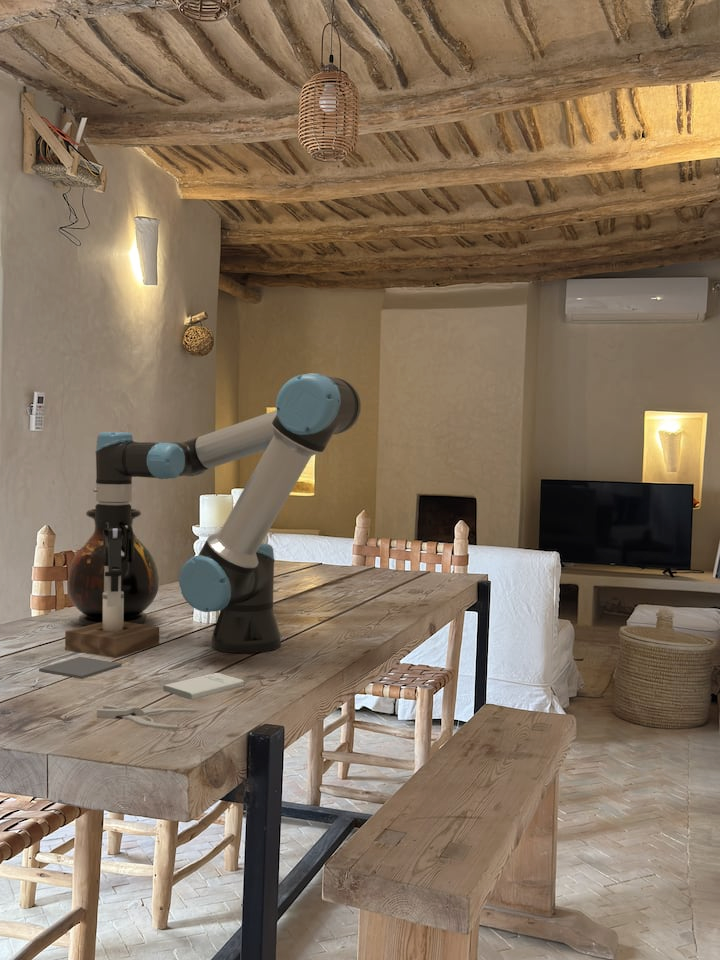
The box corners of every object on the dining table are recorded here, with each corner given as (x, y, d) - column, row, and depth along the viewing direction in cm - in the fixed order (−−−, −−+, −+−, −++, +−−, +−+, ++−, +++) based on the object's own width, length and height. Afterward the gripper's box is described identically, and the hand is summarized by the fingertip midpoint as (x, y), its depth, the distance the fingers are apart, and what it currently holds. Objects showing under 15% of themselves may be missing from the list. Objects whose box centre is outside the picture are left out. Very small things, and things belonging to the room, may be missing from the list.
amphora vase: (174, 627, 219) (174, 511, 217) (87, 638, 205) (88, 515, 204) (135, 612, 236) (136, 505, 234) (53, 622, 222) (53, 508, 221)
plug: (128, 646, 198) (128, 591, 198) (113, 650, 194) (114, 595, 194) (112, 643, 200) (112, 590, 200) (97, 648, 196) (98, 593, 196)
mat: (121, 665, 181) (121, 663, 181) (81, 678, 171) (81, 676, 171) (80, 659, 186) (80, 656, 186) (39, 671, 176) (39, 668, 176)
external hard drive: (162, 693, 165) (215, 679, 174) (192, 702, 159) (244, 688, 169) (162, 684, 164) (215, 671, 174) (192, 693, 159) (244, 679, 169)
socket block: (159, 644, 200) (159, 626, 200) (115, 657, 188) (115, 638, 188) (110, 637, 207) (110, 619, 206) (65, 649, 194) (65, 631, 194)
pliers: (177, 721, 143) (87, 716, 145) (177, 731, 143) (87, 725, 145) (197, 703, 153) (112, 698, 155) (197, 713, 153) (112, 707, 155)
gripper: (93, 498, 206) (91, 590, 207) (97, 508, 183) (96, 612, 184) (127, 498, 209) (125, 590, 210) (136, 508, 185) (134, 611, 186)
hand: (112, 600), depth 197 cm, fingers open, 13 cm apart
